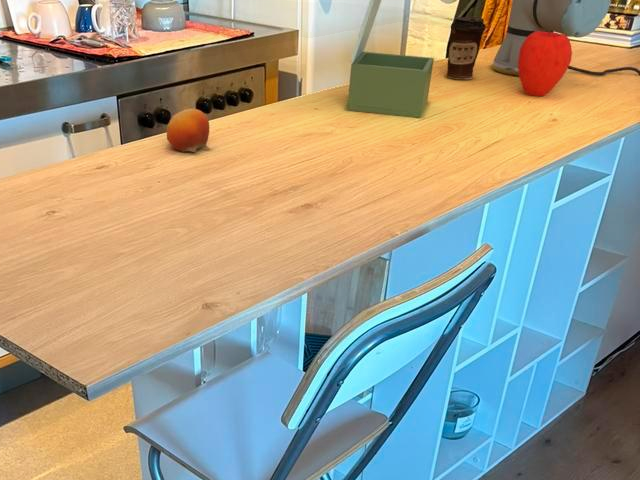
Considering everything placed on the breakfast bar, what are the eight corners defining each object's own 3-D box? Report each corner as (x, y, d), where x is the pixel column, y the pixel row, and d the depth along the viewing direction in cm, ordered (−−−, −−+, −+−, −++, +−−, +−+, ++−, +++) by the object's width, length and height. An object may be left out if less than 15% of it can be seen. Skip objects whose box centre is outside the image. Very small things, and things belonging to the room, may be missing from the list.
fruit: (202, 151, 147) (182, 106, 144) (172, 167, 152) (153, 124, 149) (226, 141, 152) (208, 97, 149) (197, 157, 157) (179, 115, 155)
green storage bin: (427, 102, 185) (434, 57, 179) (420, 117, 174) (427, 71, 169) (358, 95, 188) (362, 51, 182) (347, 110, 177) (351, 64, 172)
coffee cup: (476, 82, 201) (487, 22, 192) (442, 80, 202) (451, 20, 194) (476, 75, 207) (486, 16, 199) (443, 72, 208) (452, 14, 200)
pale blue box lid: (394, -37, 170) (390, -39, 170) (384, -29, 160) (380, -31, 160) (364, 49, 182) (361, 48, 182) (353, 62, 171) (349, 61, 171)
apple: (564, 92, 196) (580, 28, 188) (559, 102, 188) (575, 36, 179) (514, 86, 199) (528, 23, 191) (507, 96, 191) (520, 31, 182)
